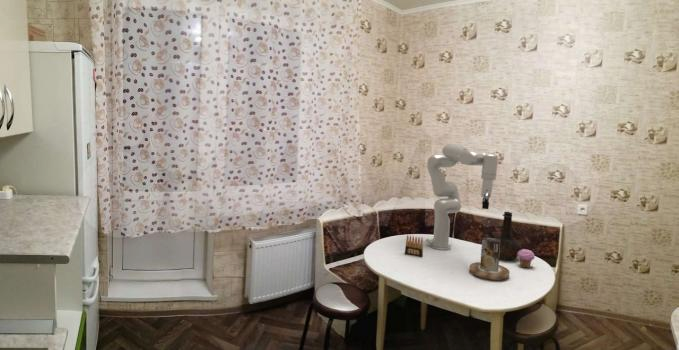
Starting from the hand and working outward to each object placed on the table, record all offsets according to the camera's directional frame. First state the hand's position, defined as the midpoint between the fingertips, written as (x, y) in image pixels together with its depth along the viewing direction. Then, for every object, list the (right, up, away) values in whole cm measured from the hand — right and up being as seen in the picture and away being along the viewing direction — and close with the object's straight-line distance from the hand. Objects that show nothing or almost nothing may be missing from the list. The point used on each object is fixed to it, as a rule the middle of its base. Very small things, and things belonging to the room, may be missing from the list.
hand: (485, 206), depth 222 cm
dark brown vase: (+19, -32, +21) cm, 43 cm away
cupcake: (+25, -35, +6) cm, 43 cm away
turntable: (-1, -35, -7) cm, 36 cm away
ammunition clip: (-36, -31, +19) cm, 51 cm away
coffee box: (-1, -33, -8) cm, 33 cm away
